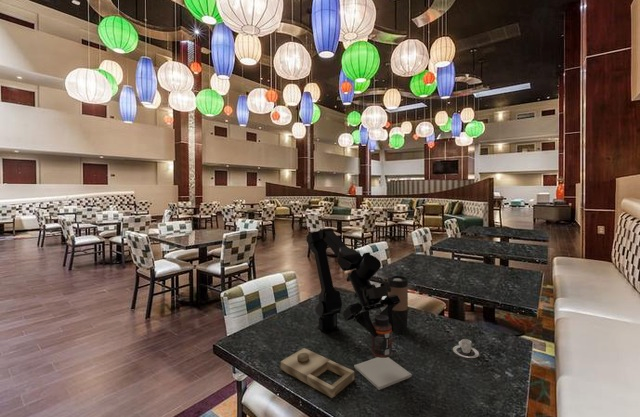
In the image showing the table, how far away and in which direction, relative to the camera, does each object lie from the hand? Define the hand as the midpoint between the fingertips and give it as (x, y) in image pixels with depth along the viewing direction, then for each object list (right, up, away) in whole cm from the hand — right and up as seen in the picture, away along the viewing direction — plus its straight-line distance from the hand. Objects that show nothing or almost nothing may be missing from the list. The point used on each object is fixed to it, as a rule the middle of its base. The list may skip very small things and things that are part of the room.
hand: (384, 334), depth 91 cm
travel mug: (+11, -10, +30) cm, 34 cm away
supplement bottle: (-1, -7, +2) cm, 7 cm away
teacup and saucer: (+33, -12, +13) cm, 37 cm away
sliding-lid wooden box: (-20, -13, +2) cm, 24 cm away
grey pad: (0, -12, +2) cm, 12 cm away
